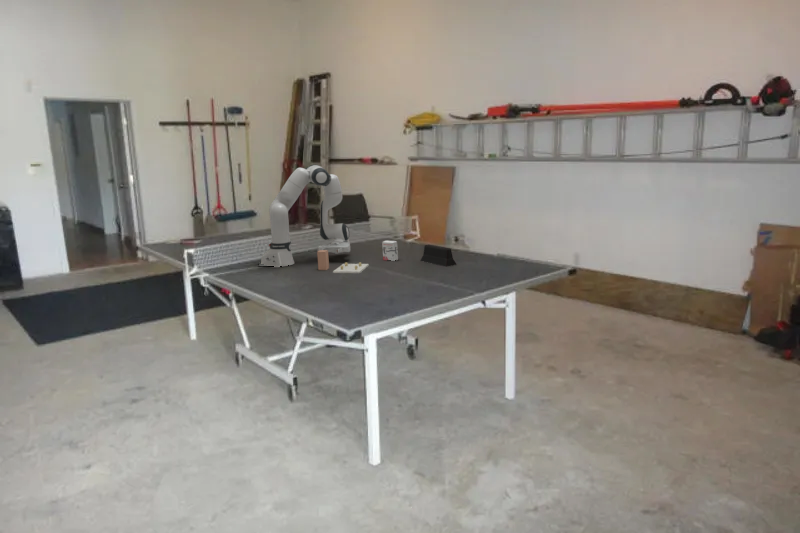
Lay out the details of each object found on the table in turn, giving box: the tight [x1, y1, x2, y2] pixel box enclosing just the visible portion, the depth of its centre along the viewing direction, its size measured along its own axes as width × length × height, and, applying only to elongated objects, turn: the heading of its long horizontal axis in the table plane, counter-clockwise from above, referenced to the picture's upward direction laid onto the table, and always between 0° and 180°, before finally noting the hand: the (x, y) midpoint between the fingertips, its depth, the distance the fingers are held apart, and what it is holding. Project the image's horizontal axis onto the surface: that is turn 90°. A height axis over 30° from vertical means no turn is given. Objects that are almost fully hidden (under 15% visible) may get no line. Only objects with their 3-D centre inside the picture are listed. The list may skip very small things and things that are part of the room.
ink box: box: [381, 240, 399, 262], centre depth 355 cm, size 9×5×12 cm, turn 62°
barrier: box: [420, 244, 457, 267], centre depth 342 cm, size 24×9×10 cm, turn 38°
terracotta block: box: [316, 250, 330, 271], centre depth 337 cm, size 5×5×11 cm
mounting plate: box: [332, 262, 370, 274], centre depth 334 cm, size 16×20×3 cm
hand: (330, 251), depth 349 cm, fingers open, 8 cm apart
